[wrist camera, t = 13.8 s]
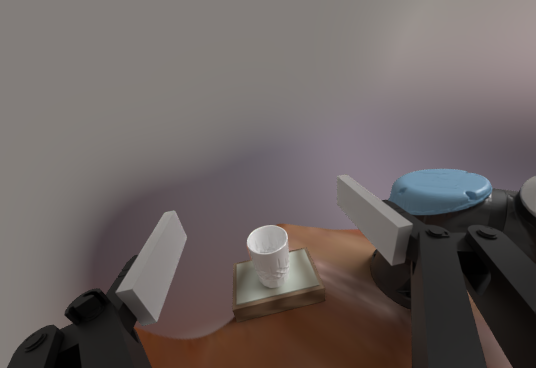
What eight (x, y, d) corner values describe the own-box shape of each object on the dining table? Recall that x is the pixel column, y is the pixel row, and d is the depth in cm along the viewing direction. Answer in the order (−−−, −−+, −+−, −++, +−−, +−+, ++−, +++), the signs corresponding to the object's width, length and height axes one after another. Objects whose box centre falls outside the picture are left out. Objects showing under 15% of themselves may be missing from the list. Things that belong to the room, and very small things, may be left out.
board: (307, 259, 49) (306, 246, 47) (325, 300, 39) (324, 286, 37) (237, 275, 47) (233, 262, 46) (237, 322, 38) (232, 309, 36)
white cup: (249, 284, 40) (238, 248, 35) (265, 255, 46) (258, 222, 42) (284, 296, 36) (277, 258, 32) (297, 264, 42) (293, 228, 38)
